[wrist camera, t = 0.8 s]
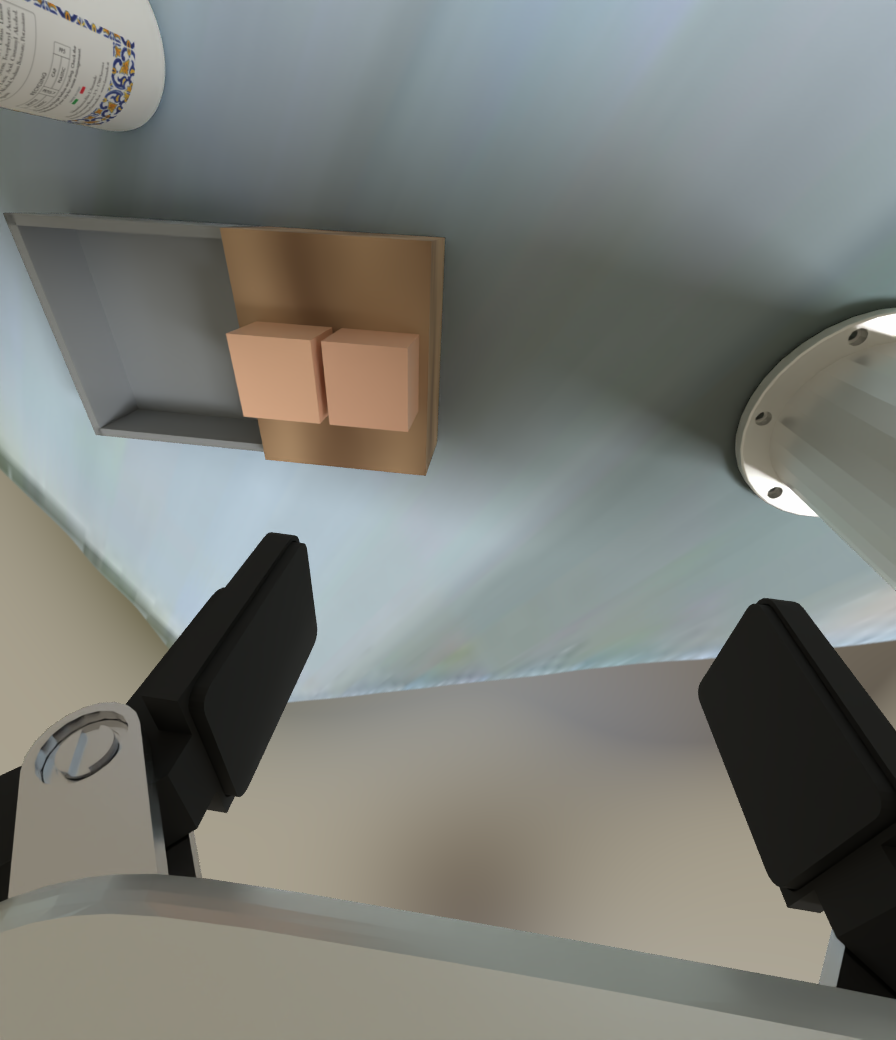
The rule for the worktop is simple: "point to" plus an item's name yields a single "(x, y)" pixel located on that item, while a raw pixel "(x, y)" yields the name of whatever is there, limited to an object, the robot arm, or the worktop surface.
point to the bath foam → (82, 61)
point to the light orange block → (280, 371)
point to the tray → (141, 323)
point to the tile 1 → (371, 378)
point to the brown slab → (345, 326)
